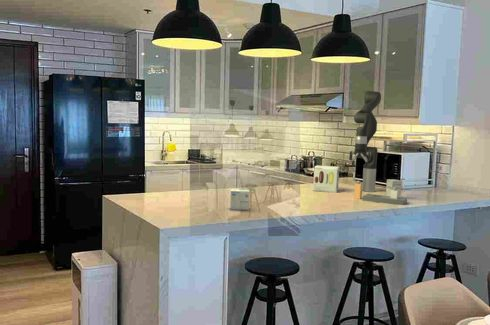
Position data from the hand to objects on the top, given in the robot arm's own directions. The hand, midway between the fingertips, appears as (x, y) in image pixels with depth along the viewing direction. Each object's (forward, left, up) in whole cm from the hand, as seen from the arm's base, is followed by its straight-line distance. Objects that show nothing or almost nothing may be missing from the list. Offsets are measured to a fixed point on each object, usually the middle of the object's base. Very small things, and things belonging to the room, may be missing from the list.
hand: (359, 167), depth 324 cm
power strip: (0, +18, -21) cm, 28 cm away
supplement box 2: (-19, +19, -22) cm, 34 cm away
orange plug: (0, 0, -21) cm, 21 cm away
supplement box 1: (-19, -30, -22) cm, 42 cm away
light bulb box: (+84, -43, -22) cm, 97 cm away
